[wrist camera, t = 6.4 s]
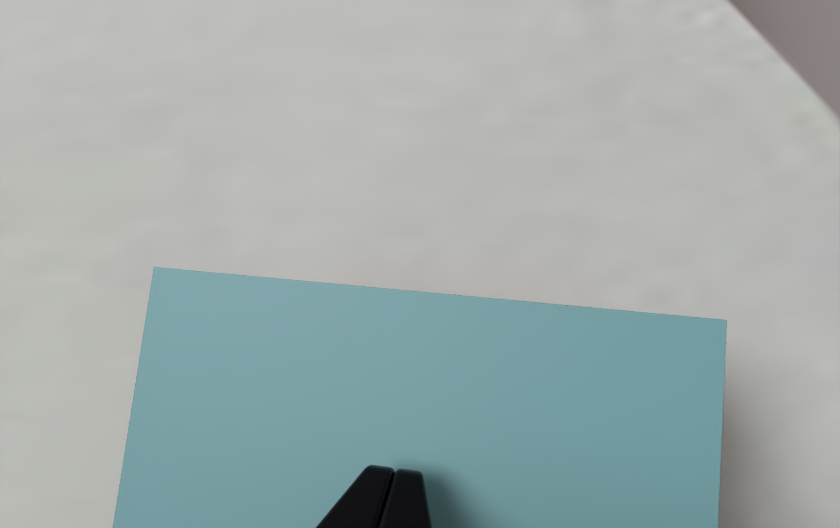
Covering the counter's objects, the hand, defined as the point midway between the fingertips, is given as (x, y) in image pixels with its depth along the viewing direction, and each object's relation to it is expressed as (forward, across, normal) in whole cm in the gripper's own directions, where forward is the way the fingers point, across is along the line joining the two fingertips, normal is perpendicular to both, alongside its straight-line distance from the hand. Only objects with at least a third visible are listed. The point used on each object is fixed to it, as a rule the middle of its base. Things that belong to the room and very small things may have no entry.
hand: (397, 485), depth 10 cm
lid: (+1, 0, +1) cm, 2 cm away
